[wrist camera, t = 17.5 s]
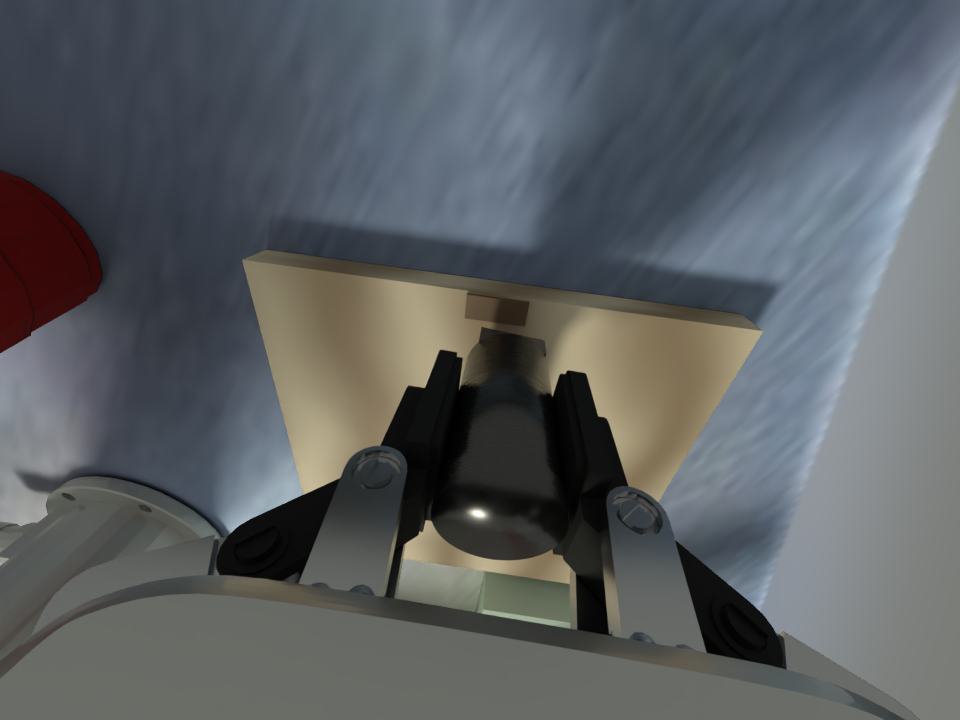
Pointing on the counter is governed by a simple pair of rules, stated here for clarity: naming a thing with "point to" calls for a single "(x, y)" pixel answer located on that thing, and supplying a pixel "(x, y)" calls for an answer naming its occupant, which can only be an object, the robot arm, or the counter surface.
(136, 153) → the counter surface
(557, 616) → the tray
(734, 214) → the counter surface
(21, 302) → the plastic cup
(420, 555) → the crank board
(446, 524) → the crank
